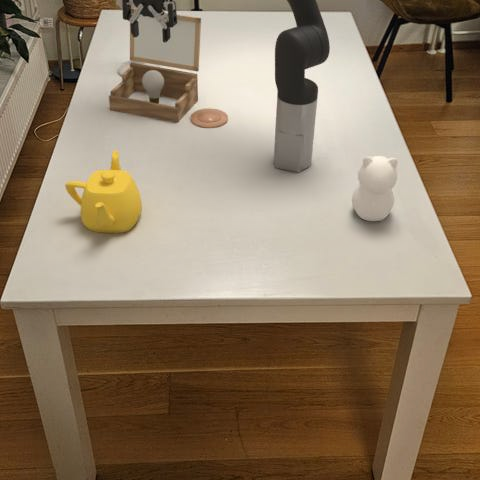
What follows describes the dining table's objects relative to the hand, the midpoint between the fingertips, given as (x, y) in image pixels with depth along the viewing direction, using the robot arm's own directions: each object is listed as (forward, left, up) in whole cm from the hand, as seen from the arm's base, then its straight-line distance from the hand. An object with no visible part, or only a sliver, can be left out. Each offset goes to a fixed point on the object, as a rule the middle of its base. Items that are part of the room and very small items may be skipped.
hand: (150, 38), depth 183 cm
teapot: (-52, -13, -19) cm, 57 cm away
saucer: (-2, -17, -19) cm, 25 cm away
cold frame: (0, 0, -19) cm, 19 cm away
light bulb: (0, 0, -19) cm, 19 cm away
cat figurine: (-29, -66, -19) cm, 75 cm away
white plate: (+19, +14, -19) cm, 30 cm away
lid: (+8, 0, -3) cm, 8 cm away
